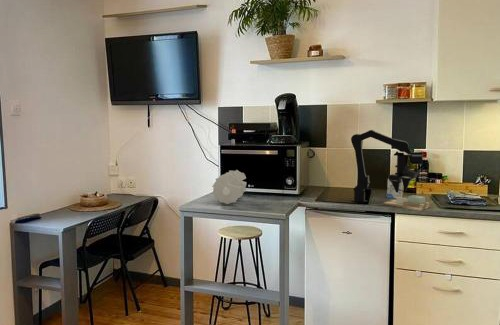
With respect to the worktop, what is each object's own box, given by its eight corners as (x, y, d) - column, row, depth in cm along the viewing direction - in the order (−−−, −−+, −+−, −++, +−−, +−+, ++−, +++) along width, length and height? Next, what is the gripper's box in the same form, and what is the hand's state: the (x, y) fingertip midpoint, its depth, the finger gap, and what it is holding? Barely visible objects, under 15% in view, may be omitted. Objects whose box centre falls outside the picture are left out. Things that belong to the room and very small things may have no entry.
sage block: (420, 207, 207) (420, 198, 206) (394, 202, 218) (395, 194, 217) (424, 205, 210) (425, 196, 209) (399, 201, 221) (399, 193, 221)
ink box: (386, 197, 237) (387, 178, 235) (387, 196, 241) (388, 177, 240) (401, 199, 233) (402, 179, 231) (402, 197, 237) (403, 178, 236)
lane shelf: (419, 210, 204) (420, 205, 203) (383, 204, 220) (383, 199, 219) (430, 207, 211) (430, 202, 211) (394, 201, 227) (394, 196, 227)
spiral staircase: (219, 211, 223) (228, 200, 247) (246, 199, 219) (252, 189, 243) (204, 183, 221) (215, 175, 246) (231, 170, 217) (239, 163, 242)
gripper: (407, 166, 203) (406, 195, 205) (424, 163, 215) (423, 191, 217) (388, 164, 212) (387, 192, 213) (405, 162, 224) (404, 188, 225)
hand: (401, 191), depth 217 cm, fingers open, 9 cm apart
